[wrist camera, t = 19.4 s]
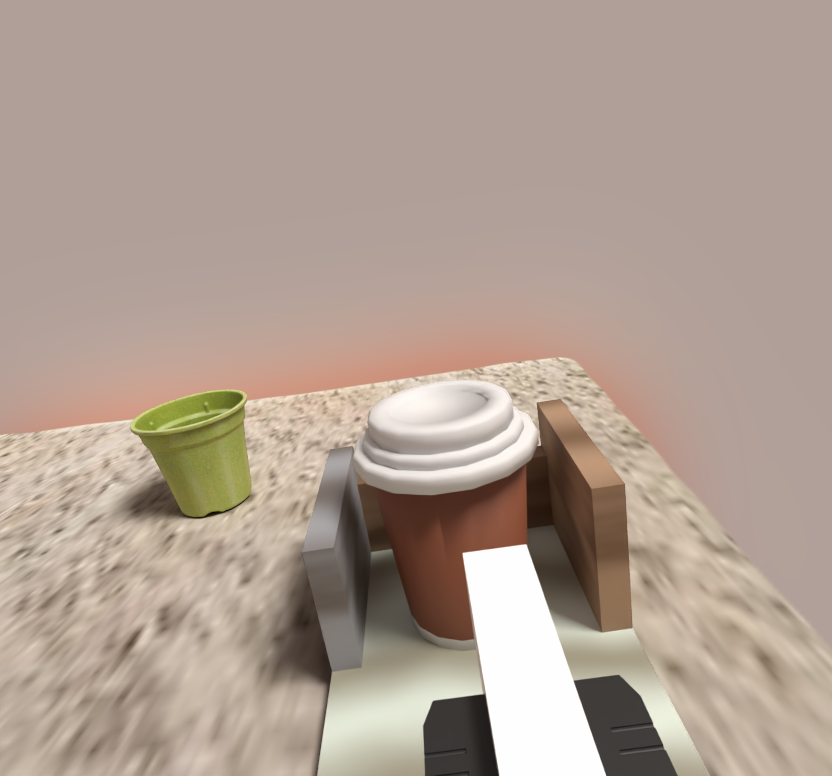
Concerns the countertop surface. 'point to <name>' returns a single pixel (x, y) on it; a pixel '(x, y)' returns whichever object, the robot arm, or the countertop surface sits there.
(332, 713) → the shelf
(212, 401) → the plant pot
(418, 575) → the coffee cup
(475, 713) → the robot arm
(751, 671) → the countertop surface
